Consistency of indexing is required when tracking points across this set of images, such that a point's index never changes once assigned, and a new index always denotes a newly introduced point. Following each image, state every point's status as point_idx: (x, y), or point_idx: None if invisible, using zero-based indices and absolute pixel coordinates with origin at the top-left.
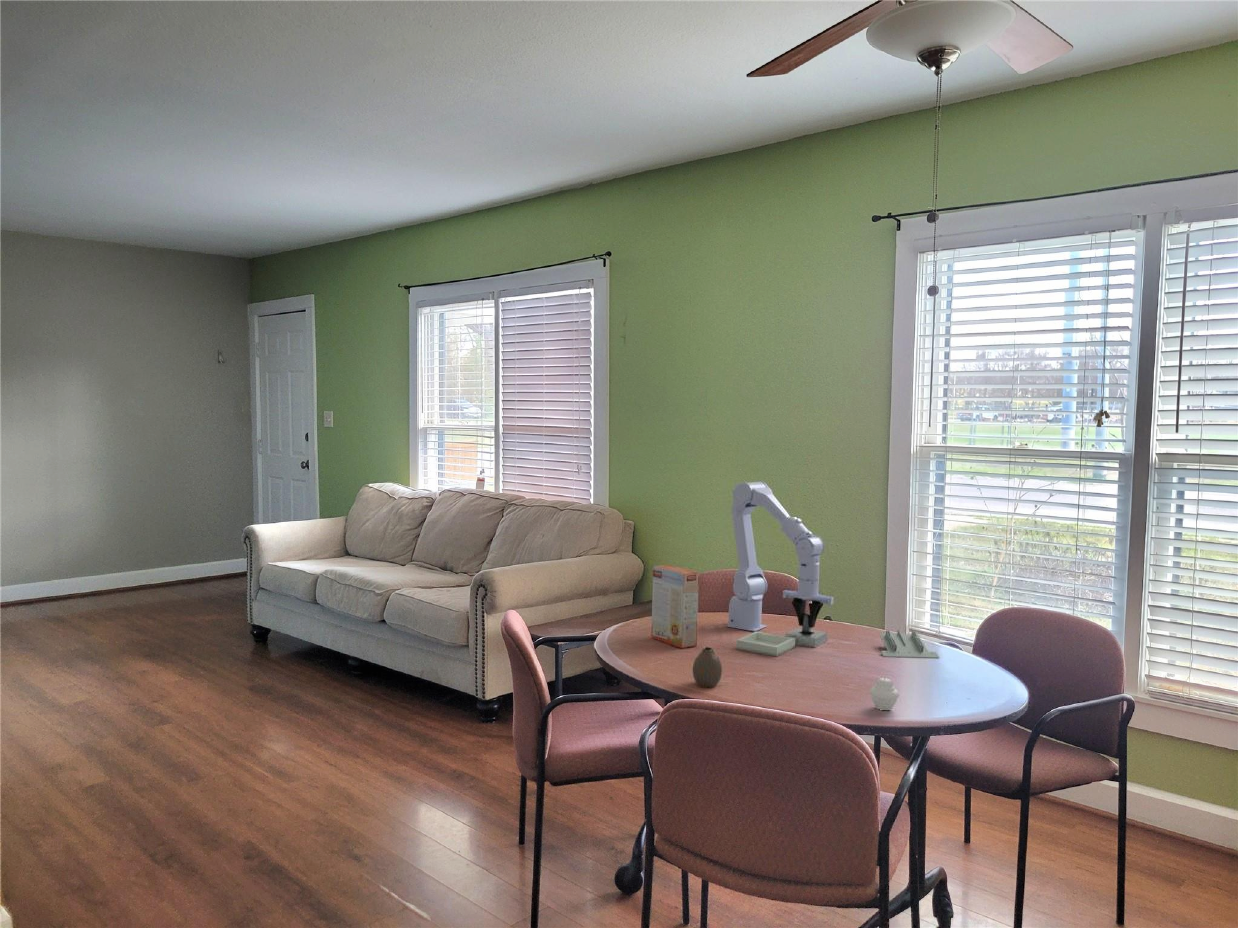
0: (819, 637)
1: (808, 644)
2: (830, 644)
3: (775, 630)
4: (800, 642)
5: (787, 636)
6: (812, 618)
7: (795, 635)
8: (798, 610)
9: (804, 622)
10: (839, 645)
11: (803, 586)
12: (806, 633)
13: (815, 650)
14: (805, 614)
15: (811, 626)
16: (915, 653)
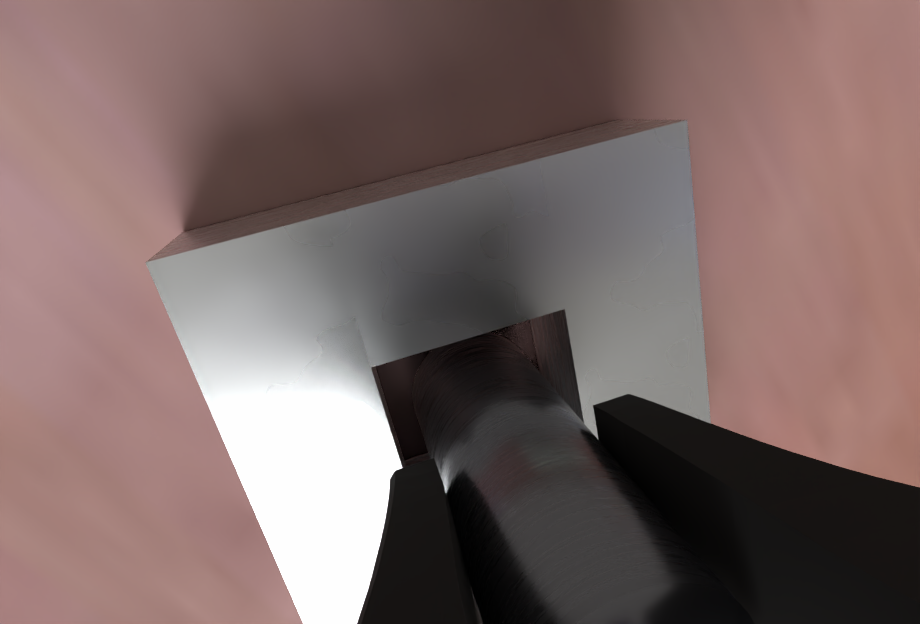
0: (222, 421)
1: (286, 210)
2: (187, 515)
3: (900, 424)
4: (409, 177)
5: (627, 129)
6: (371, 596)
7: (515, 164)
8: (904, 549)
9: (551, 452)
10: (88, 573)
11: None
12: (452, 377)
13: (44, 91)
14: (627, 597)
15: (395, 479)
16: None
